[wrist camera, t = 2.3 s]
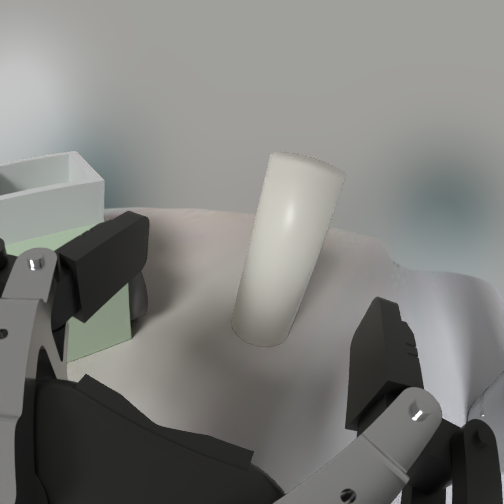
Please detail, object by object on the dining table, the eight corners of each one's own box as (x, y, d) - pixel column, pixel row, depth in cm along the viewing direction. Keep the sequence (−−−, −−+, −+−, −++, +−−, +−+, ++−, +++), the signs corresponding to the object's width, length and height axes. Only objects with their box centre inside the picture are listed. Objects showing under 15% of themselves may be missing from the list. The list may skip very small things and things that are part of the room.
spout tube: (299, 330, 26) (358, 177, 19) (260, 356, 23) (319, 179, 16) (259, 299, 29) (301, 152, 22) (219, 318, 25) (254, 151, 18)
